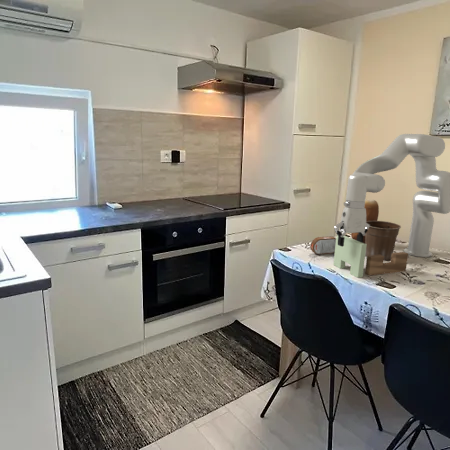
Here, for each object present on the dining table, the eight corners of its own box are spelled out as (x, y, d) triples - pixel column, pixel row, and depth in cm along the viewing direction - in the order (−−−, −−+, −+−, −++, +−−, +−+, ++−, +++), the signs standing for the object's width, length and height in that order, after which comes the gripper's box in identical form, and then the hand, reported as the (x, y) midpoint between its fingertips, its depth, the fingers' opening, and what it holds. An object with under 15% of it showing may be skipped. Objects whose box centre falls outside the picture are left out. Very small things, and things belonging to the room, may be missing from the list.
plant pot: (371, 262, 170) (375, 228, 166) (353, 251, 186) (357, 220, 182) (403, 261, 173) (408, 228, 169) (383, 251, 188) (387, 220, 184)
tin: (335, 251, 185) (337, 235, 183) (339, 253, 182) (341, 237, 180) (309, 253, 180) (310, 237, 178) (312, 255, 178) (314, 238, 176)
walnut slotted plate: (364, 273, 156) (367, 255, 154) (401, 269, 163) (403, 251, 161) (368, 275, 153) (371, 257, 151) (405, 271, 160) (408, 253, 158)
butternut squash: (361, 240, 206) (367, 196, 201) (382, 247, 195) (388, 200, 189) (344, 243, 199) (349, 197, 194) (364, 250, 188) (370, 202, 182)
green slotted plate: (333, 264, 165) (336, 234, 162) (337, 264, 166) (341, 234, 163) (357, 277, 151) (361, 244, 148) (362, 277, 152) (366, 244, 148)
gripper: (343, 207, 145) (338, 248, 149) (378, 205, 151) (372, 246, 155) (331, 203, 152) (327, 243, 156) (365, 202, 158) (360, 241, 162)
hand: (350, 244), depth 156 cm, fingers open, 9 cm apart
